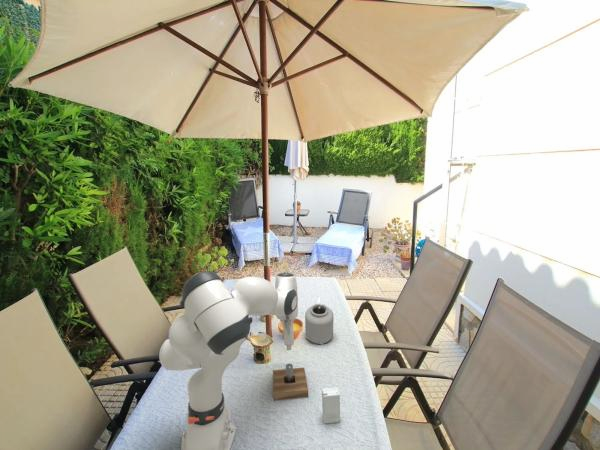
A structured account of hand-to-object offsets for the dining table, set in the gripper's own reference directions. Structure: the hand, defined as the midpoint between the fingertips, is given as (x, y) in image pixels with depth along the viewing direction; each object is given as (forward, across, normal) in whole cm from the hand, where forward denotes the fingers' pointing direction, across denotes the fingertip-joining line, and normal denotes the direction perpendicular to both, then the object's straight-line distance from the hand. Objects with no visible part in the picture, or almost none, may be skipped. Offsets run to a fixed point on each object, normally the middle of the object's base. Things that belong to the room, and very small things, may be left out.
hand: (288, 342), depth 133 cm
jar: (+21, +33, -18) cm, 43 cm away
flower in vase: (+21, +91, -4) cm, 93 cm away
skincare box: (+21, -19, -14) cm, 32 cm away
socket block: (+21, 0, 0) cm, 21 cm away
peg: (+21, 0, 0) cm, 21 cm away
